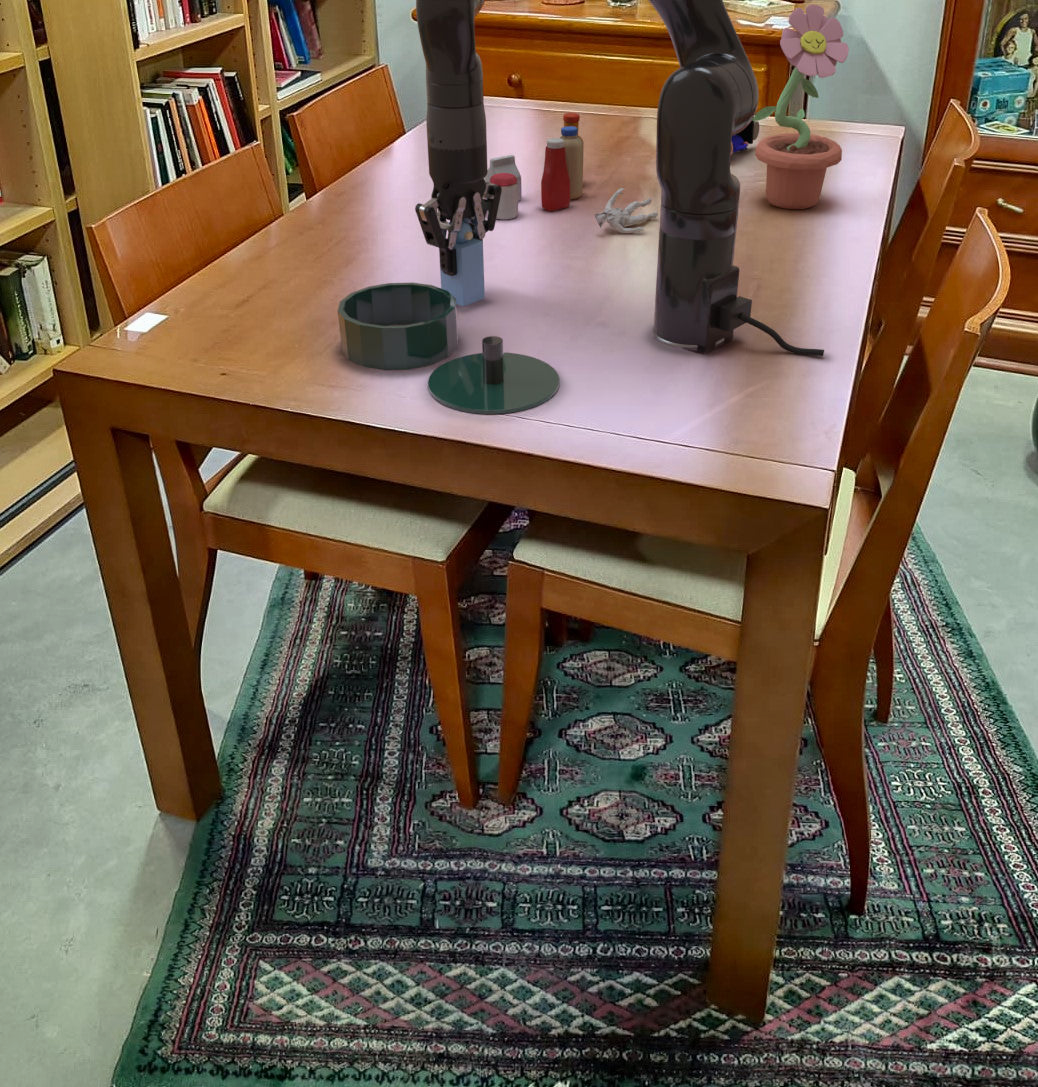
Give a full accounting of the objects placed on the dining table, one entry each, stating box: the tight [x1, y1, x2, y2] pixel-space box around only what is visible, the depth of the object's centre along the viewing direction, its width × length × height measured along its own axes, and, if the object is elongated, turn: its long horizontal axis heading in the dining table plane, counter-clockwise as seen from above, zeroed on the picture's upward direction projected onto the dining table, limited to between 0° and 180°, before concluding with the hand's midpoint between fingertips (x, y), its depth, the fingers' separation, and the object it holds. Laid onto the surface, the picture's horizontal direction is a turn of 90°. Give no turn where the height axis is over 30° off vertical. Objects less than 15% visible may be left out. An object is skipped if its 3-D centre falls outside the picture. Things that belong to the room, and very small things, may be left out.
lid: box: [427, 335, 560, 415], centre depth 131 cm, size 15×15×6 cm
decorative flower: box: [752, 3, 850, 210], centre depth 180 cm, size 15×14×30 cm
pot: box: [337, 282, 459, 371], centre depth 141 cm, size 14×14×6 cm
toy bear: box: [438, 218, 486, 307], centre depth 151 cm, size 4×4×12 cm
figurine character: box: [731, 117, 760, 156], centre depth 210 cm, size 7×8×15 cm
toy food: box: [484, 112, 585, 220], centre depth 187 cm, size 27×13×12 cm, turn 124°
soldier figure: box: [593, 187, 659, 234], centre depth 178 cm, size 8×5×12 cm
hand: (462, 269), depth 152 cm, fingers closed on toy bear, 4 cm apart
